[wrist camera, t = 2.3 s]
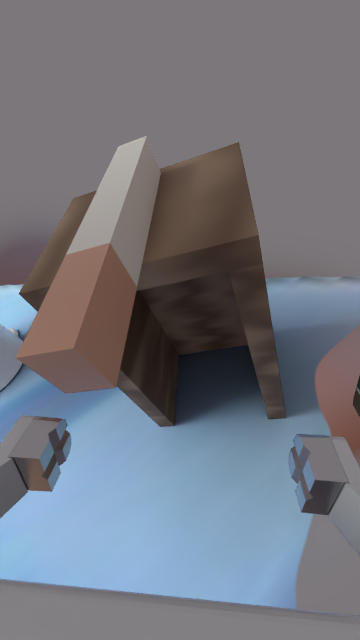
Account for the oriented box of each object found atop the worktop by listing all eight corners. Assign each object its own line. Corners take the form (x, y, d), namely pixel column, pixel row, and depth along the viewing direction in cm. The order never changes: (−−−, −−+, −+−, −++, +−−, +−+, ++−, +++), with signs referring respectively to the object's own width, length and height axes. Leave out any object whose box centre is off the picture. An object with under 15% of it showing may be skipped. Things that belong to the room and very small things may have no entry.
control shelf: (160, 426, 38) (18, 293, 20) (167, 346, 47) (73, 198, 28) (285, 418, 34) (258, 234, 15) (269, 330, 42) (238, 142, 23)
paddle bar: (65, 393, 13) (15, 357, 10) (134, 182, 25) (118, 146, 23) (116, 387, 12) (73, 348, 10) (160, 173, 25) (146, 135, 22)
